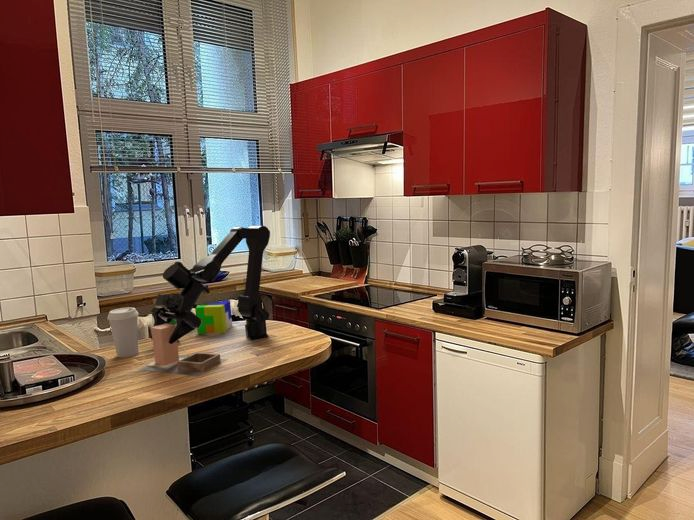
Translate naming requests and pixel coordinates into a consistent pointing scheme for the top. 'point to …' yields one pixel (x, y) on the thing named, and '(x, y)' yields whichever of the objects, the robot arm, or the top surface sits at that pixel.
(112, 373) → the top surface
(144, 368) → the puzzle board
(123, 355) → the coffee cup
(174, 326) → the terracotta block
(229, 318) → the puzzle toy
